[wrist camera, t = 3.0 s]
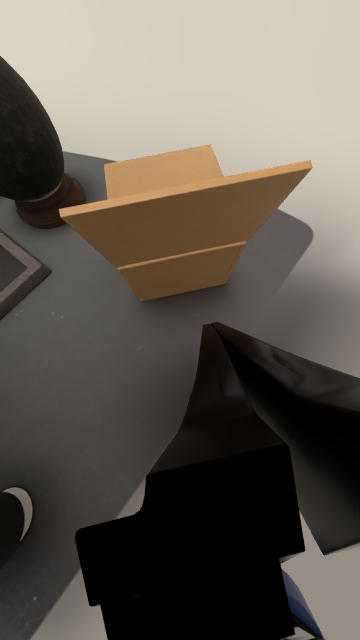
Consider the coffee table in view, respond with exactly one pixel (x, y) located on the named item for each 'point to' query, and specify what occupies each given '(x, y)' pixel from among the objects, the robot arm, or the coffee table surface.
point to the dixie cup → (13, 520)
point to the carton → (183, 268)
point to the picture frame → (17, 273)
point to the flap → (184, 215)
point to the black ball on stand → (32, 156)
